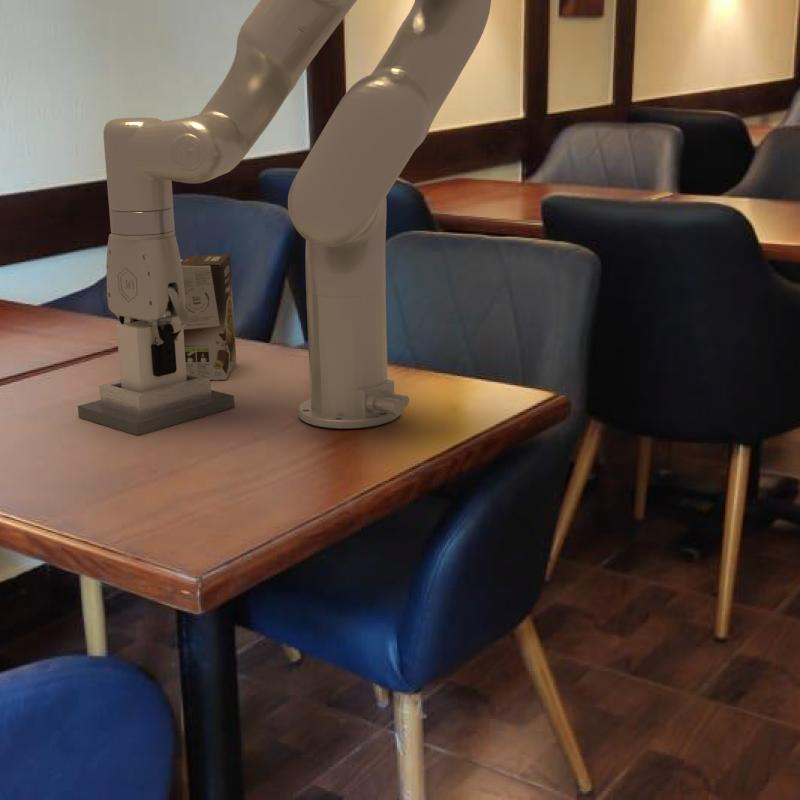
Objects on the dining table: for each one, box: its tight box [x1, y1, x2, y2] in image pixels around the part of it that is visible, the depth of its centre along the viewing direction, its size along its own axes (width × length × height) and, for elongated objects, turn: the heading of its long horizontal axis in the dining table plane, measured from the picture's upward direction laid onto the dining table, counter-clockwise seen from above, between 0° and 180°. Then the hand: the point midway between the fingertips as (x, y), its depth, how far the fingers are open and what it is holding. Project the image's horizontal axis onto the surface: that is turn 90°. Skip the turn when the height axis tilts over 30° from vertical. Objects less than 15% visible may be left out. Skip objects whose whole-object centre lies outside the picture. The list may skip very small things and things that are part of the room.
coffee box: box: [181, 253, 237, 381], centre depth 167 cm, size 9×6×16 cm
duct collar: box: [77, 372, 235, 437], centre depth 150 cm, size 12×15×4 cm
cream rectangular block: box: [116, 316, 187, 393], centre depth 149 cm, size 7×4×8 cm, turn 138°
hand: (153, 369), depth 149 cm, fingers closed on cream rectangular block, 4 cm apart
